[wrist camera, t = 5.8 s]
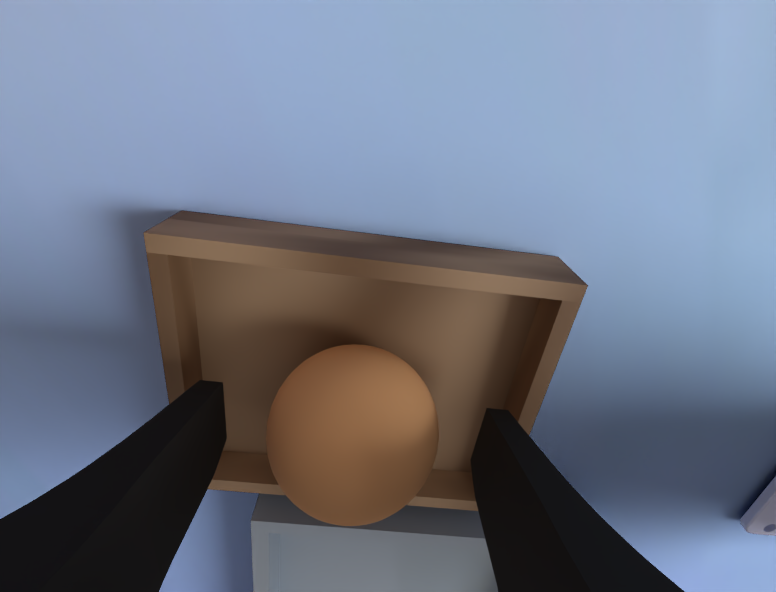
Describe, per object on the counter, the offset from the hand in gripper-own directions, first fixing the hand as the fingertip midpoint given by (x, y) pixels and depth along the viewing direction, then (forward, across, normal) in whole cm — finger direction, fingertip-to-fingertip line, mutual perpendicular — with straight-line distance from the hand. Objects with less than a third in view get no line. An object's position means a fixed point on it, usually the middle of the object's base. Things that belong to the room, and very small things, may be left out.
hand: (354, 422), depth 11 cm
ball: (0, 0, 0) cm, 0 cm away
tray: (+3, 0, 0) cm, 3 cm away
